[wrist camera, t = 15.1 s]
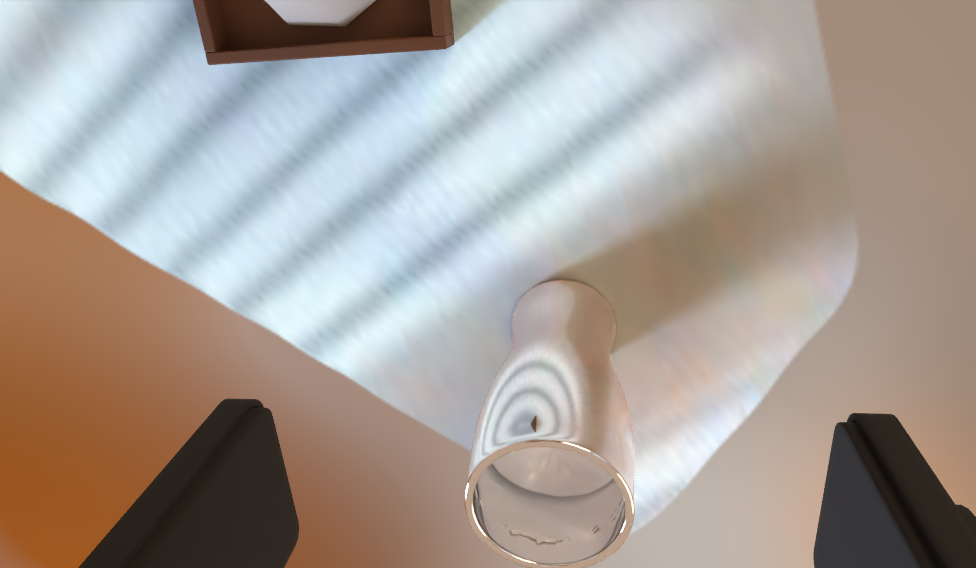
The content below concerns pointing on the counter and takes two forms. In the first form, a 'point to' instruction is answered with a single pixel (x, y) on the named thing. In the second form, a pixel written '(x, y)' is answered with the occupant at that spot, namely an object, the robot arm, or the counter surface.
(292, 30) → the tray
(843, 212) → the counter surface
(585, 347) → the beer glass
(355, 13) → the flask
